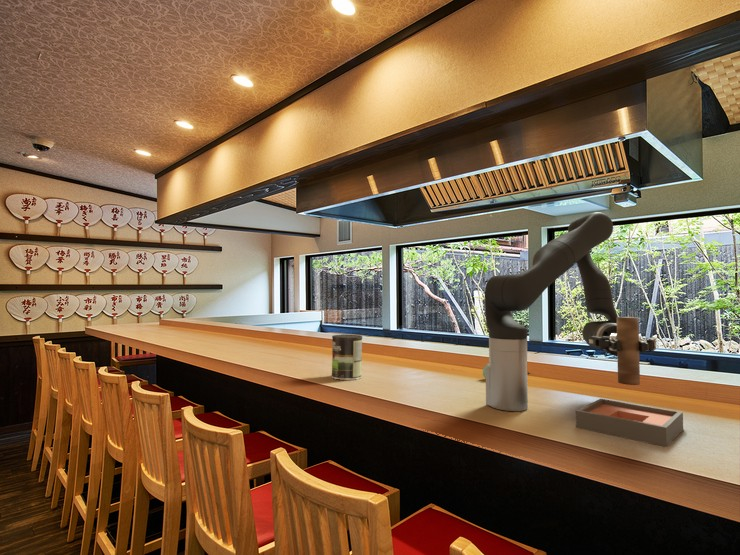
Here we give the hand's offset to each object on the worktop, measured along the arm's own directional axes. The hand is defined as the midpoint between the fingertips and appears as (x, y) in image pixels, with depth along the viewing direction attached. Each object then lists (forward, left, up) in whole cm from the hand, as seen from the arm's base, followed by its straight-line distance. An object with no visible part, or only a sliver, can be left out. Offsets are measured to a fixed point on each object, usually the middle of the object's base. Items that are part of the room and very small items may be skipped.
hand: (631, 346), depth 87 cm
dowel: (-1, +3, -8) cm, 8 cm away
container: (-47, +39, -18) cm, 64 cm away
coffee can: (-83, -6, -18) cm, 85 cm away
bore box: (-1, +2, -17) cm, 18 cm away
